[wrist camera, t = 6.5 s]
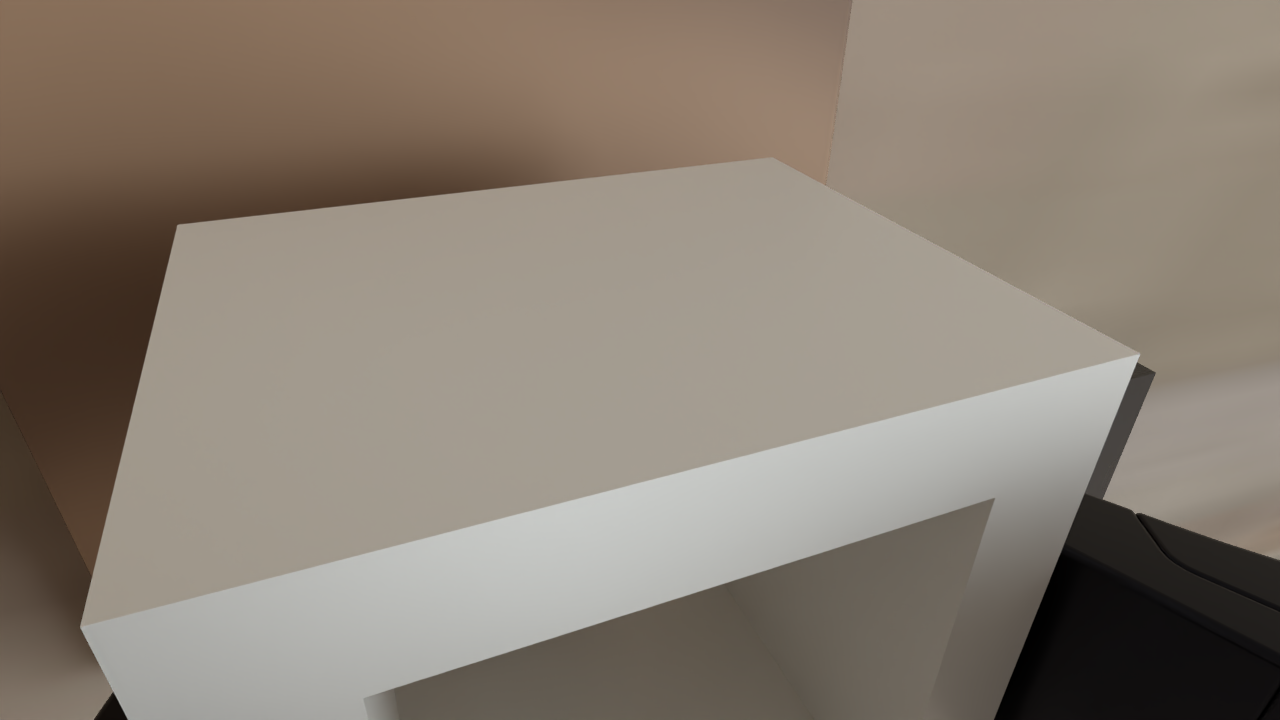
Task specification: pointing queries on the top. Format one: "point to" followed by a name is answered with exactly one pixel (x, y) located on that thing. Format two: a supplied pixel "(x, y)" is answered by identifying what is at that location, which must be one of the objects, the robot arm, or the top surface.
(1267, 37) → the top surface
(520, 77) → the hub
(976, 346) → the collar
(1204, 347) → the top surface
